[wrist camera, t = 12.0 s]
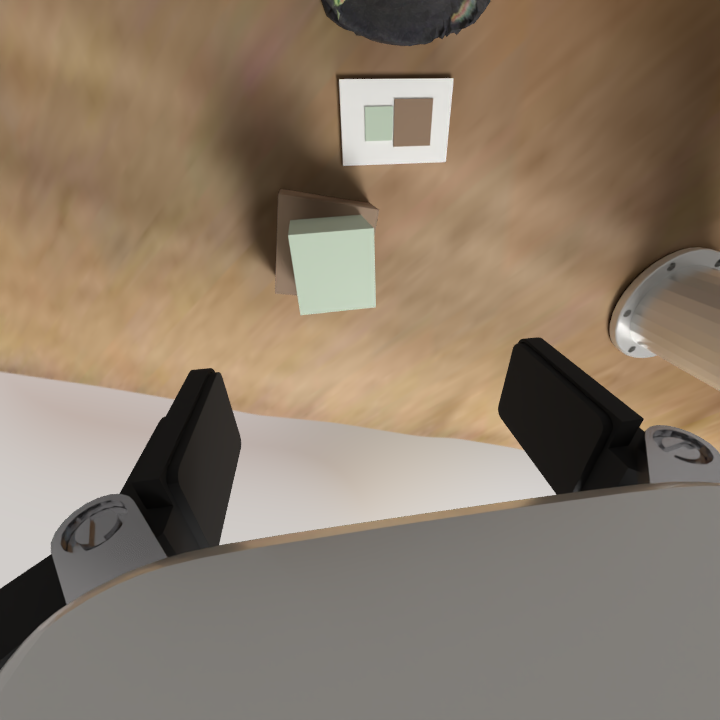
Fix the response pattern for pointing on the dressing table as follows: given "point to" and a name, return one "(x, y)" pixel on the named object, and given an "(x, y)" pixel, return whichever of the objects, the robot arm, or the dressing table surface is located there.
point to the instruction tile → (394, 120)
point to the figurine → (404, 18)
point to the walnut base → (308, 207)
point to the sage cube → (333, 263)
